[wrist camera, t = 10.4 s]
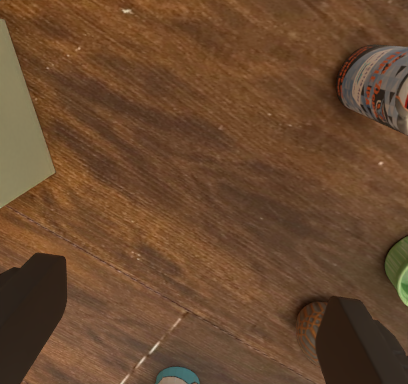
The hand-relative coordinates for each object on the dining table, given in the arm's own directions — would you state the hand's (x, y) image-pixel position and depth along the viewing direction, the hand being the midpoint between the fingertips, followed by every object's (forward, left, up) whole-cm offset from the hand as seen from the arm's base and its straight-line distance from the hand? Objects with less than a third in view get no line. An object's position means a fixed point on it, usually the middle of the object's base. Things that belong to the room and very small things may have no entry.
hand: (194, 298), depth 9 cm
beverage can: (-8, +14, -26) cm, 31 cm away
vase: (+21, +19, -26) cm, 39 cm away
